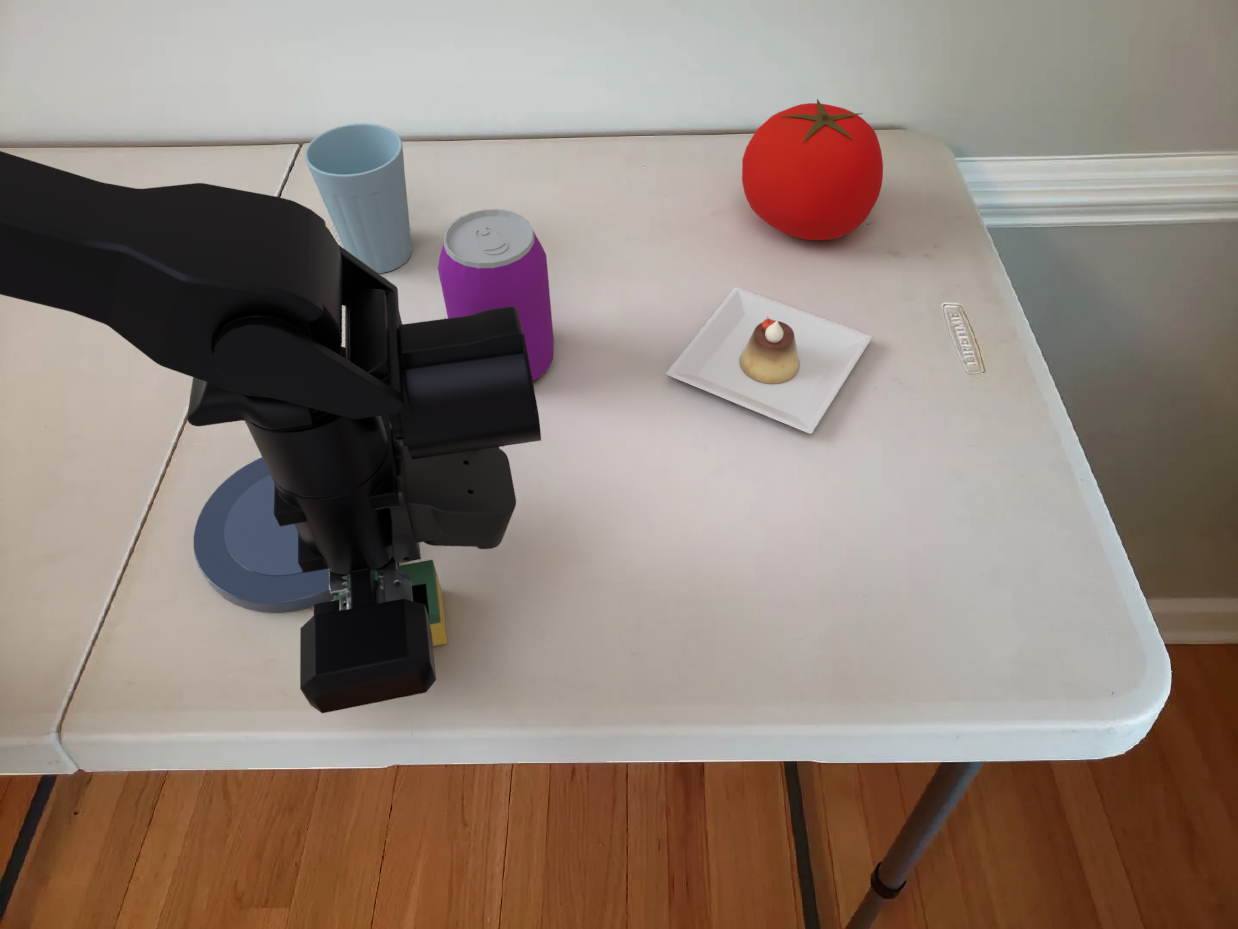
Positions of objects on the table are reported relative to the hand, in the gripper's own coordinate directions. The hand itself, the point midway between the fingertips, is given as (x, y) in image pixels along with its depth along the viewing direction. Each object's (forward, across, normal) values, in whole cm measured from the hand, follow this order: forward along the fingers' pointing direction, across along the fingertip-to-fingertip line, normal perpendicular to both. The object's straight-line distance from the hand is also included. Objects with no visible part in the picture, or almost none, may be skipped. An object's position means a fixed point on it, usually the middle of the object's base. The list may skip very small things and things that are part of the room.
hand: (393, 617), depth 57 cm
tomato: (+1, +34, -39) cm, 52 cm away
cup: (+1, +38, -1) cm, 38 cm away
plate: (+1, +9, +6) cm, 11 cm away
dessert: (+1, +17, -30) cm, 35 cm away
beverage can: (+1, +22, -10) cm, 24 cm away
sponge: (+1, 0, 0) cm, 1 cm away
